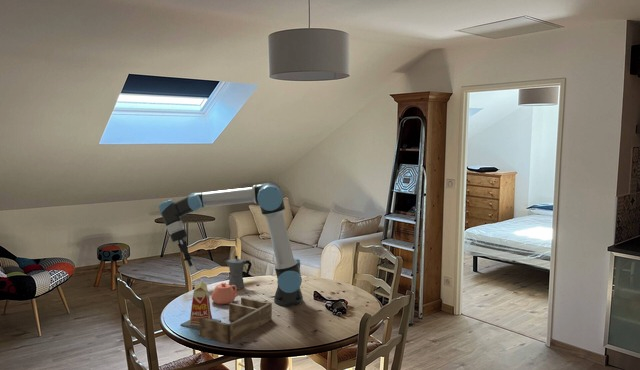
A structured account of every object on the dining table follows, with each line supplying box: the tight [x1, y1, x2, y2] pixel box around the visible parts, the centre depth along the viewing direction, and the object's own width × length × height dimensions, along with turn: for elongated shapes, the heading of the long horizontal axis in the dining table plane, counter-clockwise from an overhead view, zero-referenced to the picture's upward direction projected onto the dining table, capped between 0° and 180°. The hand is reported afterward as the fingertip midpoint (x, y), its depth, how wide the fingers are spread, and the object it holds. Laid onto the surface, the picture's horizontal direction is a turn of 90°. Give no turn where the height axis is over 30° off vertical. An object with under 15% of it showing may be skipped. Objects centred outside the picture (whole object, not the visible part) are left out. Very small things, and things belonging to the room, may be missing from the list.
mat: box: [180, 317, 222, 331], centre depth 243 cm, size 13×13×1 cm
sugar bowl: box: [211, 282, 239, 306], centre depth 273 cm, size 12×14×10 cm
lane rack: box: [198, 296, 273, 345], centre depth 240 cm, size 17×32×8 cm, turn 153°
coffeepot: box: [224, 255, 252, 290], centre depth 297 cm, size 15×9×18 cm, turn 82°
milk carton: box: [189, 278, 213, 326], centre depth 242 cm, size 9×9×20 cm
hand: (193, 272), depth 250 cm, fingers open, 13 cm apart
